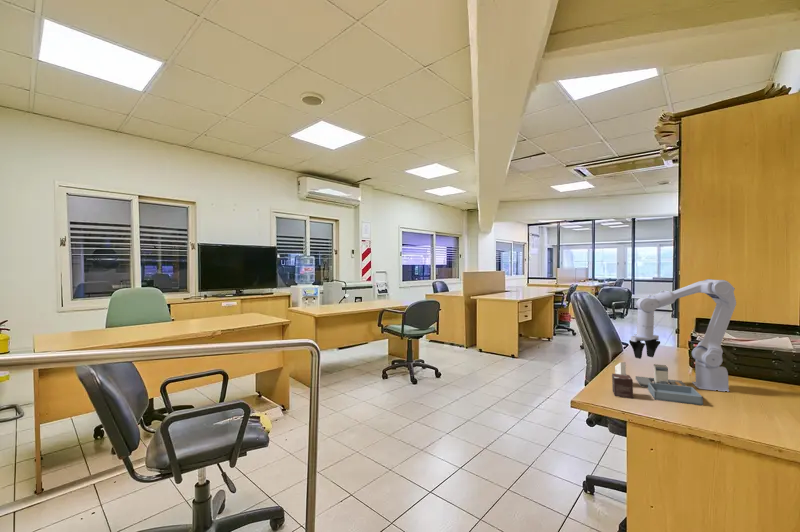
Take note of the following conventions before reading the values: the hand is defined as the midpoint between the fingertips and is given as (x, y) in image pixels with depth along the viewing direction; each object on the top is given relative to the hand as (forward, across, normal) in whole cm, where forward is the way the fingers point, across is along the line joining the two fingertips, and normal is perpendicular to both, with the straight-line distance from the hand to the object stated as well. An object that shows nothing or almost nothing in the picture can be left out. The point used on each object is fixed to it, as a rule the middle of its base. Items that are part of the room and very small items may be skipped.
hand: (644, 357), depth 143 cm
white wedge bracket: (+12, +9, -2) cm, 15 cm away
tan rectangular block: (+11, -4, +5) cm, 12 cm away
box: (+12, +20, +6) cm, 24 cm away
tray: (+11, +6, +15) cm, 19 cm away
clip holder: (+10, -4, +5) cm, 12 cm away
